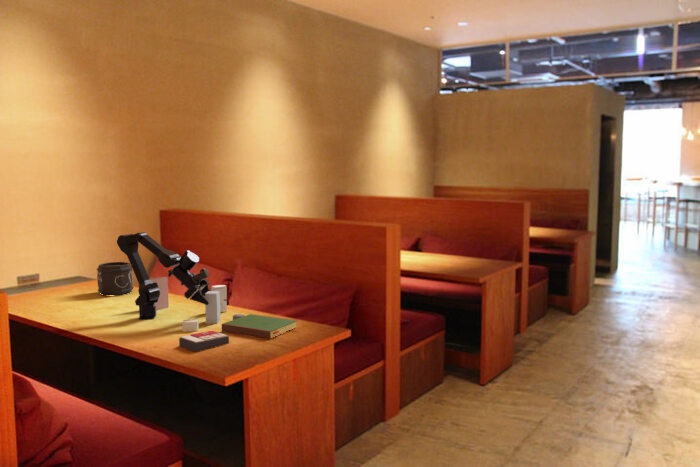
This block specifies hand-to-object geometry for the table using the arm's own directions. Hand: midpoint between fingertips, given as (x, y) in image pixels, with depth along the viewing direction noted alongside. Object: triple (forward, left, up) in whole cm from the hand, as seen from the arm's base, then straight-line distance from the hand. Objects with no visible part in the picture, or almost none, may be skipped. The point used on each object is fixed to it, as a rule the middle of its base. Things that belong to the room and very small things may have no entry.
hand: (211, 301), depth 263 cm
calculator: (+1, -34, -9) cm, 36 cm away
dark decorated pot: (-57, +70, -9) cm, 91 cm away
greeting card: (-28, +27, -9) cm, 40 cm away
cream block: (-7, -12, -9) cm, 17 cm away
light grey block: (+1, 0, -9) cm, 9 cm away
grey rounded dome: (+12, -2, -9) cm, 15 cm away
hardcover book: (+21, -16, -10) cm, 28 cm away
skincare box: (+2, +19, -9) cm, 21 cm away
